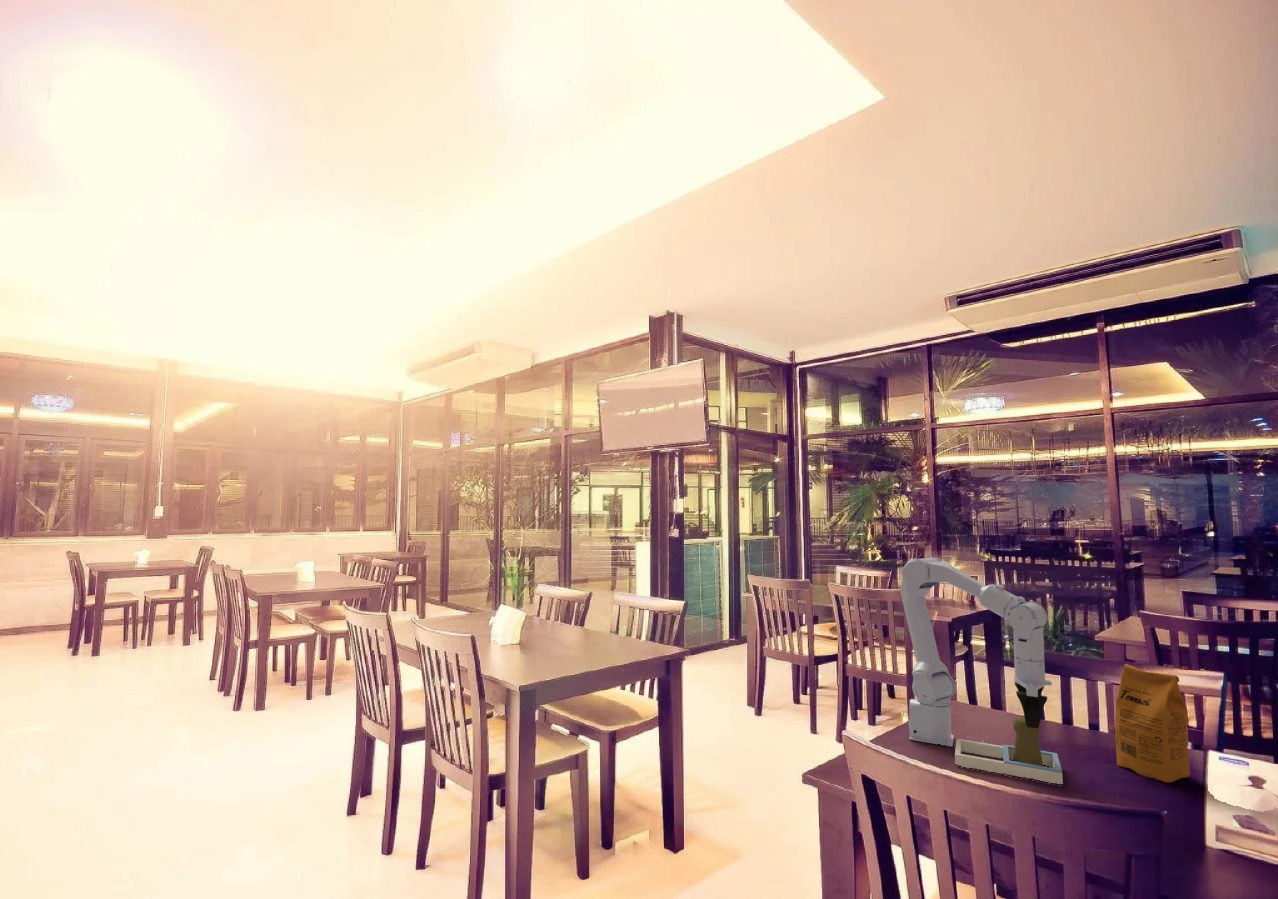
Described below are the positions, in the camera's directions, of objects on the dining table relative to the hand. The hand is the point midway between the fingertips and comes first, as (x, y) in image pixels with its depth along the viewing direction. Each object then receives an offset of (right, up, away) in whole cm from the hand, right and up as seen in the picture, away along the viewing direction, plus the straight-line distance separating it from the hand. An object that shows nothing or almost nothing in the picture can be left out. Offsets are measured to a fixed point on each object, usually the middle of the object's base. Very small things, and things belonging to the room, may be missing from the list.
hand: (1031, 722), depth 141 cm
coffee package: (+26, -11, 0) cm, 28 cm away
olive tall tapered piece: (-1, -11, 0) cm, 11 cm away
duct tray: (-5, -11, +2) cm, 12 cm away
